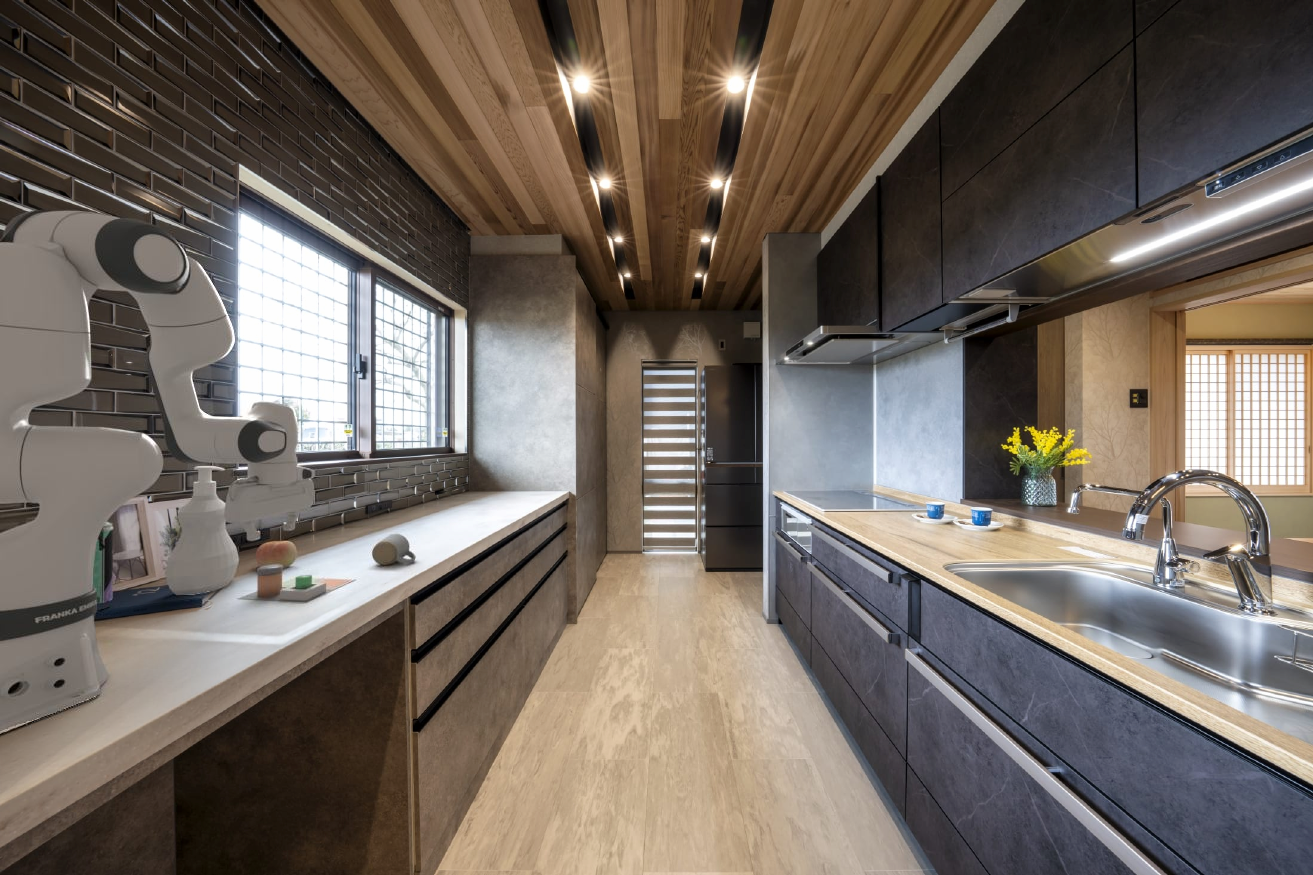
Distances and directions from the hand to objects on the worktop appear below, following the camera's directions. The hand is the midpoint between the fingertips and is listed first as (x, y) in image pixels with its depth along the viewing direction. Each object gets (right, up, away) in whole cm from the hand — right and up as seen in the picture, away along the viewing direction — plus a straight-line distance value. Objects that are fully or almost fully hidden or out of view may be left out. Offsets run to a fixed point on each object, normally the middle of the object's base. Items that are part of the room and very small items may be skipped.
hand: (272, 534), depth 110 cm
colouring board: (+4, -15, +4) cm, 15 cm away
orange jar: (0, -13, 0) cm, 13 cm away
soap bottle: (-18, -14, +3) cm, 23 cm away
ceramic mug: (+11, -15, +31) cm, 36 cm away
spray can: (-31, -14, -8) cm, 35 cm away
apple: (-15, -14, +21) cm, 29 cm away
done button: (+8, -12, -1) cm, 14 cm away
